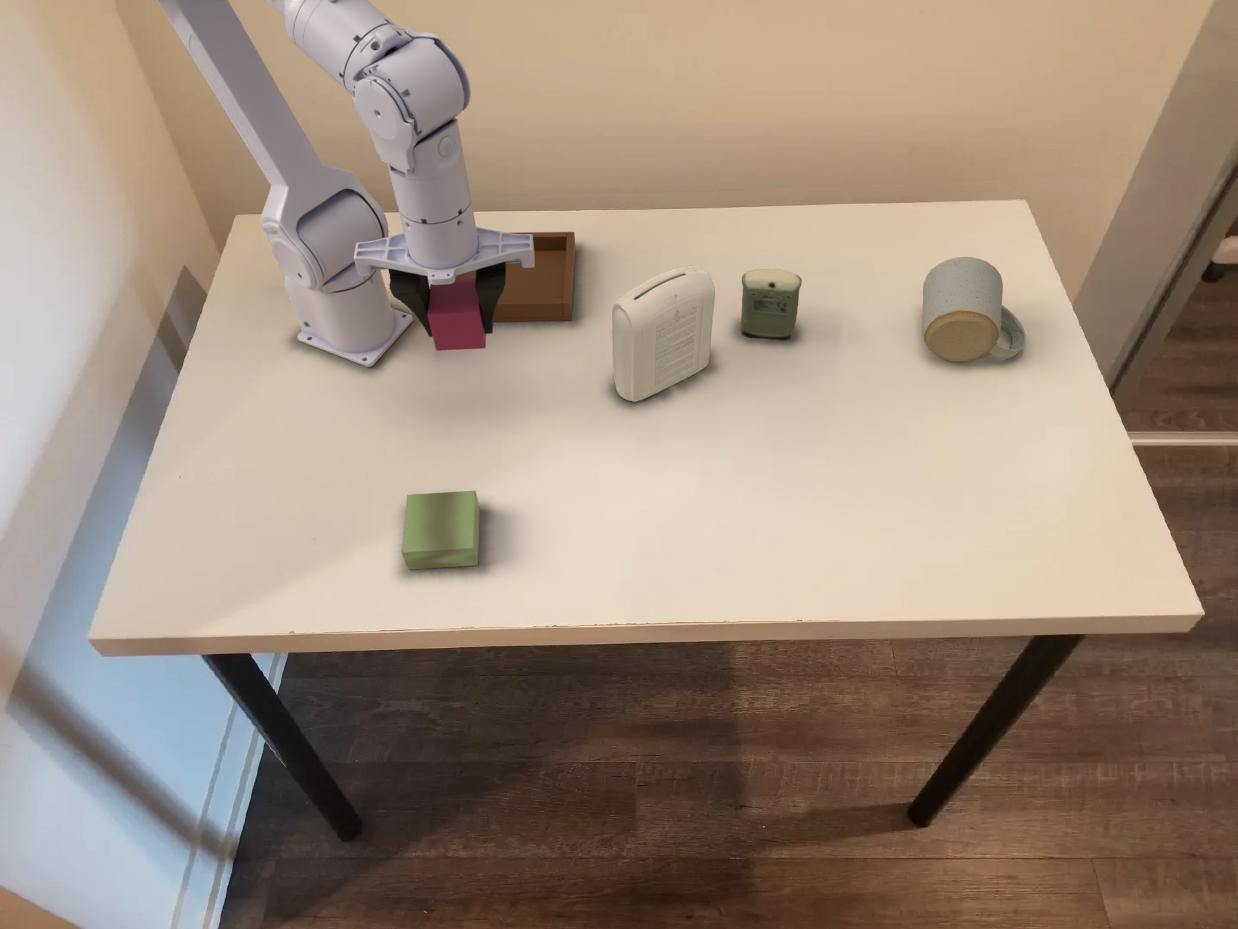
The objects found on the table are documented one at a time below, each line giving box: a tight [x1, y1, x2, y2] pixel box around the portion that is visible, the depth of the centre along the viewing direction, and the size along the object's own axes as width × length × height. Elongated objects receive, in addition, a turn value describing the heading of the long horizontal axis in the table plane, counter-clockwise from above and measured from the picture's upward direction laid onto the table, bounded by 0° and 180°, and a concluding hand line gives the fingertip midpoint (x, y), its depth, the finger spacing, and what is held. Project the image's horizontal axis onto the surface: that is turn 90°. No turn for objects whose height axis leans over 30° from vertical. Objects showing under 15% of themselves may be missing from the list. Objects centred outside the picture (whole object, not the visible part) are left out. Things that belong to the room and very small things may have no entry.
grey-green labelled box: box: [740, 268, 803, 341], centre depth 94 cm, size 6×5×8 cm
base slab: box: [401, 490, 481, 571], centre depth 81 cm, size 6×6×3 cm
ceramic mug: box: [921, 256, 1027, 363], centre depth 92 cm, size 11×8×8 cm
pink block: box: [427, 278, 487, 352], centre depth 82 cm, size 4×4×4 cm
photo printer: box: [611, 265, 716, 403], centre depth 89 cm, size 10×4×12 cm, turn 123°
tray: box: [455, 231, 577, 322], centre depth 101 cm, size 15×12×2 cm
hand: (460, 327), depth 83 cm, fingers closed on pink block, 4 cm apart
